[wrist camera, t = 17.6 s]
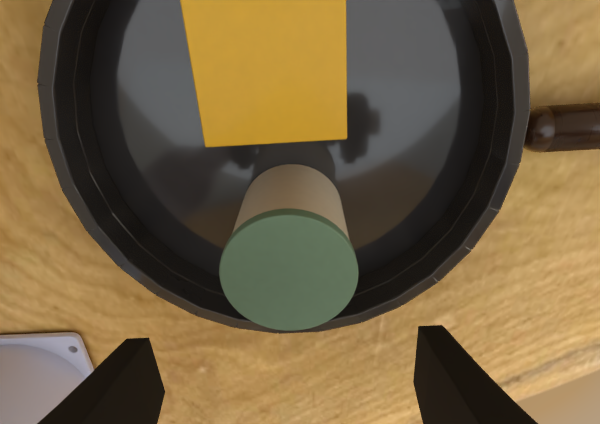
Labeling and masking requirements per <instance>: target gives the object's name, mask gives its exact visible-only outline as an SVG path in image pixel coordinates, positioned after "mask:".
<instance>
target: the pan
mask: <svg viewBox="0 0 600 424" xmlns="http://www.w3.org/2000/svg"><path fill="white" fill-rule="evenodd" d="M44 24H45V25H44V26H43V34H42V43H41V52H40V61H39V70H38V79H37V83H39V84H38V94H39V102H40V110H41V118H42V127H43V135H44V138H45V143H46V146H47V149H48V152H49V155H50V157H51V160H52V163H53V166H54V169H55V172H56V175H57V177H58V180H59V183H60V186H61V188H62V191H63V193H64V194H65V196H66V198H67V199H68V201H69V203H70V204H71V206H72V208H73V209H74V211H75V213H76V214H77V216H78V218H79V219H80V221H81V223H82V224H83V226H84V228H85V229H86V231H88V233H89V234H90V235H91V237H92V238H93V239H94V240H95V241H96V242H97V243H98V244H99V245H100V247H101V248H102V249H103V250H104V251H105V252H106V253H107V254H108V255H109V257H110V258H111V259H112V260H113V261H114V262H115V263H116V264H117V265H118V266H119V267H120V268H121V269H122V270H123V271H125V272H126V273H127V274H129V275H130V276H131V277H133V278H134V279H135V280H137V281H138V282H139V283H140V284H142V285H143V286H144V287H146V288H147V289H148V290H150V291H151V292H152V293H154V294H156V295H157V296H158V297H160V298H162V299H164V300H166V301H168V302H170V303H172V304H174V305H176V306H178V307H180V308H182V309H184V310H186V311H187V312H189V313H191V314H193V315H196V316H198V317H201V318H205V319H208V320H211V321H214V322H218V323H221V324H224V325H227V326H230V327H234V328H236V327H237V328H239V329H247V330H255V331H262V332H270V333H303V332H320V331H326V330H330V329H335V328H340V327H344V326H349V325H353V324H358V323H361V322H364V321H367V320H369V319H372V318H374V317H376V316H379V315H381V314H384V313H386V312H389V311H391V310H393V309H396V308H398V307H400V306H401V305H404V304H406V303H407V302H409V301H410V300H412V299H413V298H415V297H416V296H418V295H419V294H421V293H423V292H424V291H426V290H427V289H429V288H430V287H432V286H433V285H435V284H436V283H438V281H440V280H441V279H442V278H443V277H444V276H446V275H447V274H448V273H449V272H450V271H451V270H452V269H453V268H454V267H455V266H456V265H457V264H458V263H459V262H460V261H461V260H462V259H463V258H464V257H465V256H466V255H467V254H469V253H470V252H471V249H473V248H474V247H475V245H476V244H477V242H478V241H479V239H480V238H481V237H482V235H483V234H484V232H485V231H486V230H487V228H488V227H489V225H490V224H491V222H492V221H493V220H494V218H495V217H496V215H497V214H498V212H499V210H500V209H501V207H502V204H503V202H504V200H505V197H506V195H507V193H508V190H509V188H510V186H511V183H512V181H513V179H514V176H515V174H516V172H517V169H518V167H519V163H520V162H521V157H522V152H523V147H524V141H525V136H526V131H527V126H528V121H529V115H530V82H529V56H528V49H527V46H526V42H525V38H524V35H523V31H522V28H521V24H520V21H519V17H518V14H517V10H516V7H515V3H514V0H346V50H347V139H342V140H325V141H308V142H291V143H273V144H256V145H239V146H221V147H205V144H204V138H203V132H202V126H201V120H200V114H199V108H198V103H197V97H196V91H195V85H194V79H193V73H192V67H191V61H190V56H189V50H188V44H187V38H186V32H185V26H184V20H183V14H182V9H181V3H180V0H53V1H52V4H51V6H50V9H49V12H48V14H47V17H46V20H45V22H44ZM286 164H298V165H304V166H308V167H311V168H313V169H315V170H317V171H319V172H321V173H322V174H323V175H325V176H326V177H327V178H328V179H329V180H330V181H331V182H332V183H333V185H334V186H335V188H336V189H337V191H338V194H339V196H340V200H341V204H342V209H343V213H344V218H345V222H346V227H347V231H348V236H349V240H350V242H351V244H352V246H353V249H354V251H355V255H356V260H357V264H358V282H357V286H356V290H355V292H354V294H353V296H352V298H351V300H350V301H349V303H348V304H347V305H346V307H345V308H344V309H343V310H342V311H341V312H340V313H339V314H338V315H336V316H335V317H334V318H332V319H330V320H329V321H327V322H325V323H323V324H321V325H318V326H315V327H312V328H308V329H303V330H294V331H285V330H276V329H272V328H267V327H264V326H261V325H259V324H257V323H254V322H252V321H251V320H249V319H247V318H246V317H244V316H243V315H242V314H240V313H239V312H238V311H237V310H236V309H235V308H234V307H233V306H232V304H231V303H230V302H229V300H228V299H227V297H226V296H225V293H224V291H223V289H222V286H221V282H220V275H219V267H220V261H221V256H222V254H223V251H224V248H225V246H226V243H227V241H228V240H229V238H230V236H231V235H232V233H233V230H234V227H235V224H236V221H237V218H238V215H239V212H240V209H241V206H242V203H243V200H244V197H245V194H246V192H247V190H248V188H249V186H250V185H251V183H252V182H253V181H254V180H255V179H256V178H257V177H258V176H259V175H260V174H262V173H263V172H265V171H267V170H268V169H271V168H273V167H276V166H280V165H286Z"/></svg>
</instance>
